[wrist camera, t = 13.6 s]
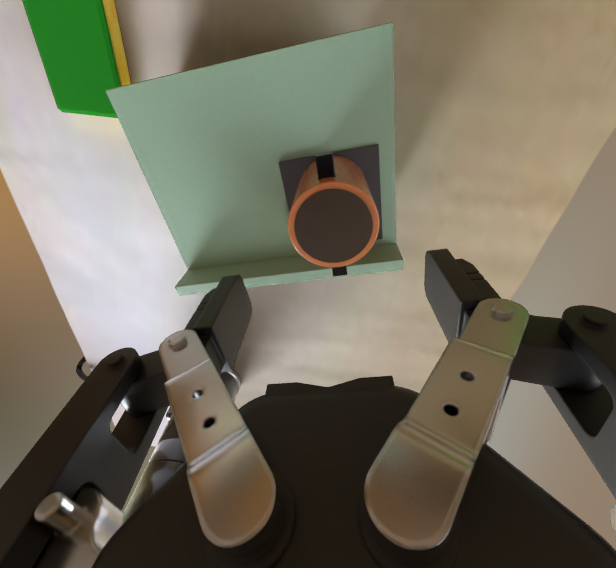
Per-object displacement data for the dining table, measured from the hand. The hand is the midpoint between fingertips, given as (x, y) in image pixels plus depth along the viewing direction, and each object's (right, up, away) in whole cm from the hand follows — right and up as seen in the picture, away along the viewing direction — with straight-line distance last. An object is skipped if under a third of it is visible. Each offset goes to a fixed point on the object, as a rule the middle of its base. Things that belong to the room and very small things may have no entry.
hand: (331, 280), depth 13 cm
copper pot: (+1, +7, +11) cm, 13 cm away
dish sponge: (-23, +25, +16) cm, 37 cm away
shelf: (-4, +15, +21) cm, 26 cm away
